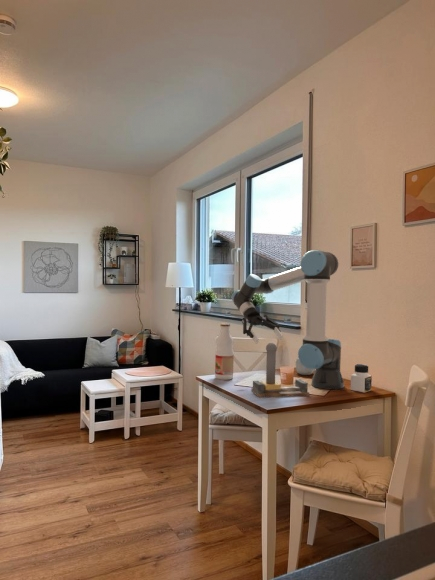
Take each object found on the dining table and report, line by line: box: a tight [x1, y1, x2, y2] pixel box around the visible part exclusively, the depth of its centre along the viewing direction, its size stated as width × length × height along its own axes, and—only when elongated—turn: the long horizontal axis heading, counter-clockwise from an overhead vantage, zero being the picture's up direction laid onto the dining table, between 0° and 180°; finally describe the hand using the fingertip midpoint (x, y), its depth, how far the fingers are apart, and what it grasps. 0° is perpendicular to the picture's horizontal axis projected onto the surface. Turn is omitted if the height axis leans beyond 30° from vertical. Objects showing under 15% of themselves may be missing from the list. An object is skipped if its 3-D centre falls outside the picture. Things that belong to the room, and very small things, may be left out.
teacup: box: [294, 358, 316, 376], centre depth 238 cm, size 14×11×8 cm
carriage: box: [260, 342, 282, 390], centre depth 191 cm, size 7×7×20 cm
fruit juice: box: [214, 323, 235, 381], centre depth 221 cm, size 9×9×28 cm
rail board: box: [250, 378, 310, 398], centre depth 192 cm, size 23×12×5 cm, turn 103°
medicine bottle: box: [350, 363, 373, 394], centre depth 201 cm, size 7×7×12 cm
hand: (269, 339), depth 203 cm, fingers open, 13 cm apart
